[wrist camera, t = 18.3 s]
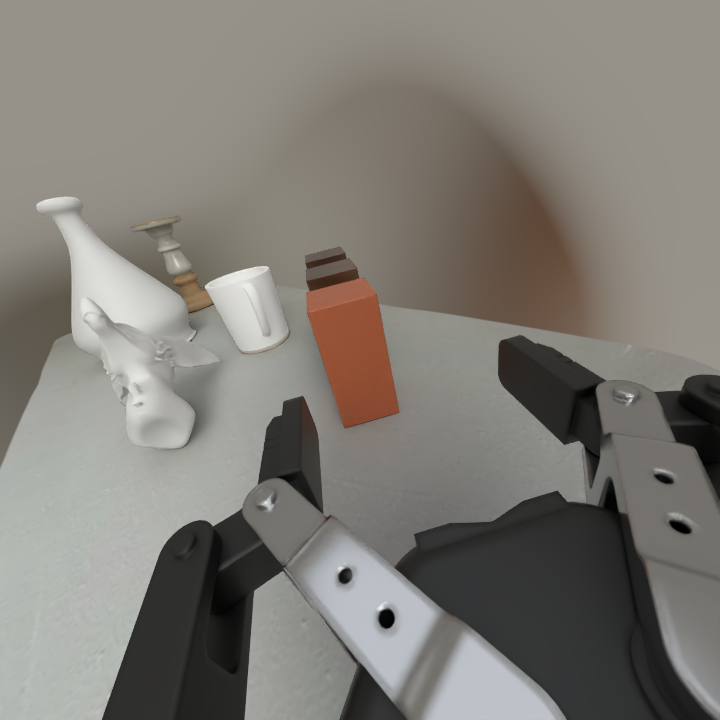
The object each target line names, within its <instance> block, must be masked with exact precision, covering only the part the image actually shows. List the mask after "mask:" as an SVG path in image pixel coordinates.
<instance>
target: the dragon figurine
mask: <svg viewBox="0 0 720 720" xmlns="http://www.w3.org/2000/svg"><path fill="white" fill-rule="evenodd" d="M80 316H81V319H82V320H83V321H84V322H85V323H87V324H88V326H89V327H90V328H91V329H92V330H93V331H94V332H95V333H96V334H97V335H98V337H99V339H100V342H101V345H102V351H101V359H102V362H103V363H104V365H103V367H104V368H105V369H106V370H107V372H106V375H110V376H111V381H112V385H113V388H114V391H115V393H116V395H117V397H118V399H119V400H120V402H121V400H122V399H123V398H124V397H125V396H126V395H127V394H128V393H129V395H128V399H127V403H126V429H127V434H128V437H129V440H130V441H131V442H132V443H133V444H134V445H137V446H141V447H148V448H167V449H175V448H181V447H183V446H184V445H186V443H187V442H188V441H189V438H190V436H191V432H192V429H193V426H194V422H195V412H194V410H193V409H192V407H191V406H190V405H189V404H188V403H187V402H186V401H184V400H183V399H182V398H180V397H179V396H178V395H176V394H175V393H174V391H173V384H174V377H175V374H174V367H175V366H178V367H184V368H190V367H198V366H202V365H206V364H210V363H213V362H217V361H219V362H221V361H220V360H219V359H218V358H217V357H216V356H215V355H214V354H213V353H212V352H210V351H209V350H208V349H206V348H204V347H202V346H200V345H198V344H195V343H193V342H190V341H186V340H183V339H180V338H176V337H169V336H162V335H150V334H146V333H144V332H142V331H140V330H138V329H136V328H134V327H132V326H130V325H127V324H123V323H114V322H113V321H112V320H111V319H110V318H109V317H108V315H107V314H106V313H105V312H104V311H103V310H102V309H101V308H100V307H99V306H98V305H97V304H96V303H95V302H94V301H93V300H92V299H90V298H87V297H84V298H82V299H81V302H80ZM121 403H122V402H121ZM122 404H123V403H122ZM123 405H124V404H123ZM124 406H125V405H124Z"/></svg>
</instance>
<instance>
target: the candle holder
mask: <svg viewBox="0 0 720 720" xmlns="http://www.w3.org/2000/svg"><path fill="white" fill-rule="evenodd" d="M180 221H181V217H180V216H175V217H170V218H165V219H160V220H156V221H152V222H148V223H144V224H140V225H136V226H132V227H131V230H132V231H133V232H143V231H144V232H146V233H147V234H148V235H149V236H150V237H153V238H154V239H155V240H156V241H157V243H158V245H159V248H158V252H160V253H162V254H163V256H164V259H165V262H166V267H167V271H168V273H169V274H170V275H172V276H174V279H173V284H174V285H176V286H178V287H179V289H180V291H181V294H182V298H183V299H184V301H185V302H186V304H187V306H188V311H189V313H190V312H193V311H197V310H200V309H203V308H205V307H208V306H210V305H212V304H214V303H213V301H212V299H211V298H210V296H209V294H208V292H207V290H206V289H204V290H202V288H201V287H200V285H199V284H198V282H197V277H198V275H197V274H195V273H193V272H191V270H192V265H191V263H190V262H189V261H188V260H187V259H186V258H185V257H184V255H183V254H182V253H181V251H180V250H179V248H180V247H181V245H180V244H179V243H177V242H175V241H174V239H173V237H172V232H173V224H175V223H177V222H180Z"/></svg>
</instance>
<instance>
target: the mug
mask: <svg viewBox="0 0 720 720" xmlns="http://www.w3.org/2000/svg"><path fill="white" fill-rule="evenodd" d="M205 288H206V290H207V292H208V294H209V296H210V298H211V299H212V301H213V303H214V305H215V307H216V308H217V310H218V312H219V314H220V316H221V318H222V319H223V321H224V323H225V325H226V327H227V328H228V330H229V332H230V334H231V336H232V338H233V339H234V341H235V343H236V345H237V347H238V348H239V350H240V351H241V352H243V353H246V354H254V353H260V352H264V351H267V350H269V349H272V348H274V347H276V346H278V345H279V344H281V343H282V342H284V341H285V340H286V339H287V338H288V336H289V329H288V326H287V323H286V320H285V317H284V314H283V310H282V307H281V304H280V301H279V298H278V295H277V291H276V288H275V285H274V282H273V279H272V276H271V273H270V269H269V267H266V266H261V267H254V268H249V269H245V270H241V271H237V272H234V273H231V274H228V275H225V276H222V277H220V278H217V279H215V280H213V281H211V282H210V283H208V284H207V285H206V286H205Z"/></svg>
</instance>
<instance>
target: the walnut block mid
mask: <svg viewBox="0 0 720 720" xmlns="http://www.w3.org/2000/svg"><path fill="white" fill-rule="evenodd" d="M306 279H307V280H306V281H307V284H308V288H309V291H314V290H318V289H322V288H325V287H329V286H333V285H337V284H340V283H344V282H348V281H352V280H356V279H359V275H358V271H357V267H356V266H355V265H354V264H353V262H352V261H351V260H350V258H348V259H344V260H340V261H337V262H333V263H329V264H325V265H321V266H318V267H314V268H310V269H306Z"/></svg>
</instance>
